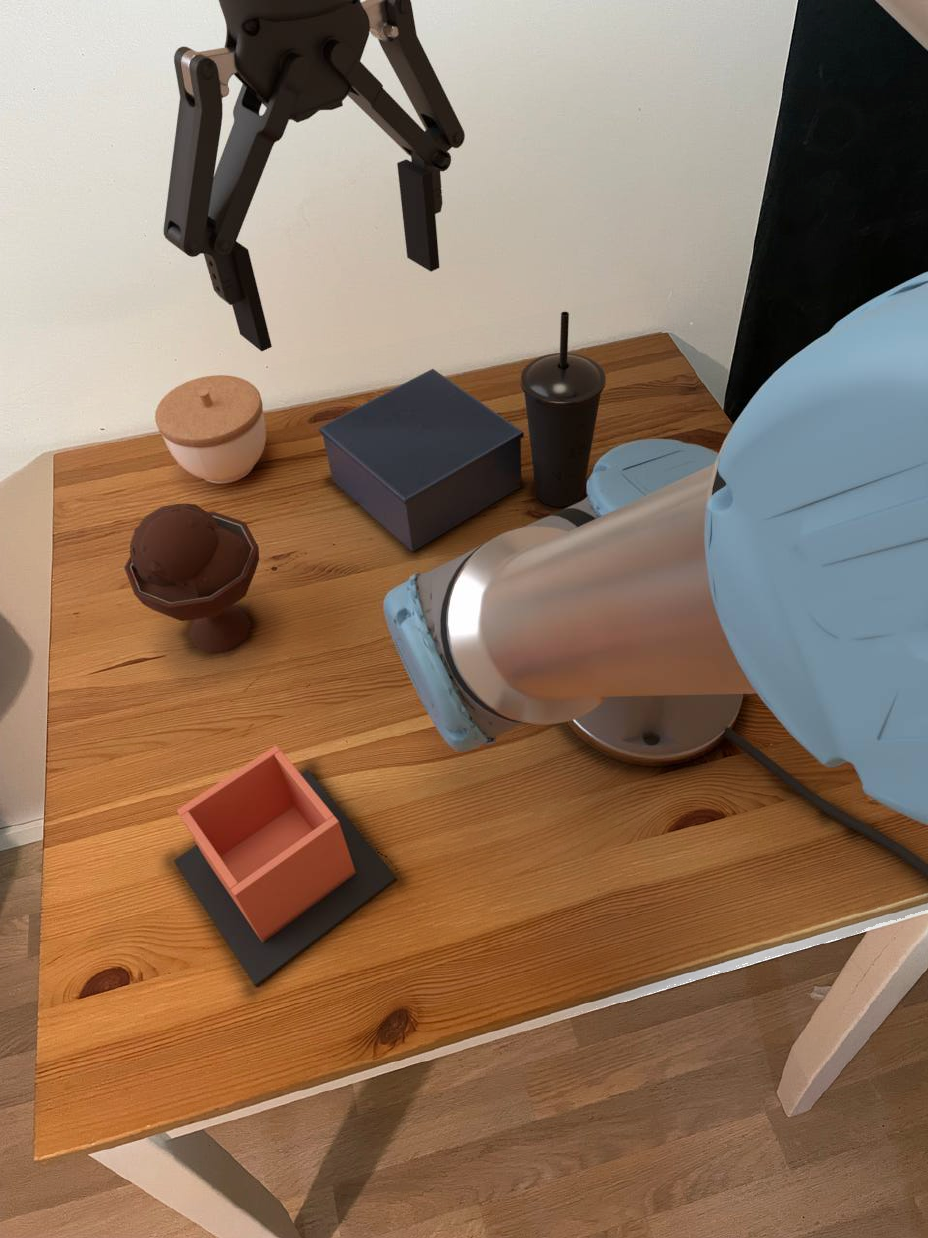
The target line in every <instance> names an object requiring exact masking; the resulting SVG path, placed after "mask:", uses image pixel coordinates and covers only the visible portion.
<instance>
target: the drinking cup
mask: <svg viewBox="0 0 928 1238" xmlns="http://www.w3.org/2000/svg"><path fill="white" fill-rule="evenodd" d="M569 322H570V313H569V311H562V312H561V313H560V333H559V335H560V336H559V341H560V342H559V352H557V353H556V352H555V353H549V354H545V355H543V356H540V357H536V358H535V359H533V360H531V361H530V362H528V363H527V364H526V365H525V367H523V369H522V370H521V371H522V372H521V373H520V379H519V381H520V382H519V383H520V387H521V390H522V392H523V393H524V400H525V409H526V411H525V412H526V418H527V419H526V420H527V427H528V436H529V437H528V438H529V444H530V452H531V453H530V454H531V461H532V471H533V479H534V487H535V489H534V490H535V494H536V497H537V499H538V500H540V502H542V503H544V504H545V505H548V506H551V507H556V508H557V507H558V508H561V507H563V508H564V507H570V506H572V505H574V504H576V503H578V502H579V501H580V500H581V498H582V497H583V495H584V492H585V485H586V481H587V474H588V468H589V463H590V457H591V451H592V446H593V440H594V435H595V429H596V424H597V423H596V422H597V417H598V412H599V406H600V400H601V396H602V395H601V394H602V393H603V391H604V390H605V386H606V381H607V379H606V378H607V376H606V372H605V371H604V369H603V367H602V365H600V364H599V363H598V362H596V361H595V360H594V359H592V358H590V357H587V356H585V355H582V354H577V353H572V352H569V351H568V349H569V324H570V323H569Z"/></svg>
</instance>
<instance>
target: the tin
mask: <svg viewBox="0 0 928 1238" xmlns="http://www.w3.org/2000/svg"><path fill="white" fill-rule="evenodd" d="M318 432H319V433H320V434H321V435H322V437H323V443H324V447H325V452H326V456H327V461H328V467H329V471H330V475H331V479H332V482H333V483H334V484H335V485H336V486H338V488H340V489H341V490H342V491H343V492H344V493H345V494H347V495H348V496H349V497H350V498H351V499H352V500H353V501H354V502H356V503H357V504H358V505H359V506H360V507H361V508H362V509H364V510H365V512H367V513H368V514H369V515H370V516H371V517H373V519H375V520H376V521H377V522H378V523H379V524H380V525H382V526H383V527H384V528H385V529H386V530H387V531H388V532H389V533H391V535H393V536H394V538H396V539H397V540H398V541H399V542H401V543H402V544H403V545H404V546H405V547H406V548H407V549H409V550H410V551H411V552H413V553H414V552H415V551H416V550H419V549H420V548H422V547H423V546H425V545H427V544H428V543H430V542H432V541H433V540H435V539H437V538H438V537H440V536H441V535H444V534H445V533H446V532H449V531H450V530H452V529H453V528H455V527H457V526H458V525H460V524H462V523H463V522H465V521H466V520H468V519H470V518H471V517H473V516H475V515H477V514H478V513H479V512H481V511H483V510H485V509H486V508H488V507H490V506H492V505H494V503H496V502H498V501H500V500H501V499H503V498H505V497H506V496H508V495H510V494H511V493H513V492H515V491H516V490H518V489H520V488H521V487H522V444H521V443H522V438H524V436H525V435H524V434H525V432H524V431H523V430H521V429H520V428H519V427H517V426H516V425H514V424H513V423H512V422H510V421H509V420H508V419H506V418H504V417H503V416H501V415H500V414H499V413H497V412H495V411H494V410H493V409H491V408H490V407H489V406H487V405H486V404H484V403H483V402H481V401H480V400H479V399H477V398H476V397H474V396H473V395H472V394H470V393H469V392H467V391H466V390H464V389H463V388H462V387H460V386H459V385H457V384H456V383H454V382H453V381H451V380H450V379H449V378H447V377H446V376H444V375H443V374H441V373H440V372H438V371H437V370H435V368H431V369H429V370H427V371H426V372H423V373H422V374H419V375H418V376H416V377H413V378H412V379H410V380H408V381H406V382H404V383H402V384H400V385H398V386H396V387H394V388H393V389H390V390H388V391H387V392H384V393H383V394H381V395H379V396H377V397H375V398H373V399H371V400H368V401H367V402H365V403H363V404H361V405H359V406H357V407H355V408H354V409H351V410H350V411H347V412H346V413H344V414H342V415H340V416H338V417H336V418H334V419H332V420H330V421H328V422H327V423H324V424H322V425H321V426H319V427H318Z"/></svg>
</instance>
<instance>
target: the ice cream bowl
mask: <svg viewBox="0 0 928 1238" xmlns="http://www.w3.org/2000/svg"><path fill="white" fill-rule="evenodd" d="M129 548H130V549H129V554H130V556H129V558H128V560H127V561H126V563H125V565H124V567H123V568H124V571H125V573H126V576H127V579H128V581H129V584H130V586H131V590H132V592H133V594H134V596H135V597H136V598H137V599H138V600H139V601H140V603H141V604H142V605H144V606H145V607H147V608H148V609H151V610H152V611H154V612H157V613H160V614H162V615H164V616H167V617H170V618H172V619H175V620H177V621H180V622H186V621H193V622H192V624H191V627H190V629H189V636H190V638H191V640H192V643H193V645H194V647H195V648H197V649H199V650H202V651H204V652H207V653H210V654H214V653H220V652H227V651H231V650H232V649H234V648H235V647H237V646H238V645H239V644H241V643H242V642H243V641H244V640H246V639H247V636H248V633H249V631H250V629H251V626H252V624H251V623H252V622H251V621H250V619H249V617H248V615H247V613H246V611H244V609H243V608H240V607H238V606H235V604H236V603H238V602H239V601H240V600H242V599H244V598H245V597H246V596H247V593H248V592H249V588H250V586H251V584H252V581H253V578H254V576H255V574H256V571H257V567H258V565H259V562H260V549H259V545H258V543H257V542H256V540H255V538H254V535H253V534H252V532H251V530H250V528H249V526H248V524H247V522H246V521H242V520H240V519H237V518H234V517H231V516H229V515H228V516H227V515H225V514H222V513H219V512H216V511H207V510H205V509H204V508H201V507H200V506H199V505H197V504H195V503H175V504H174V503H173V504H169V505H161V506H160V507H159V508H157V509H156V510H154V511H152V512H150V513H149V514H147V515H146V516H145V517H144V518H143V519H142V520H141V521H140V523H139V524H138V526H136V528H135V529H134V530H133V535H132V537H131V540H130V545H129Z"/></svg>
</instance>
